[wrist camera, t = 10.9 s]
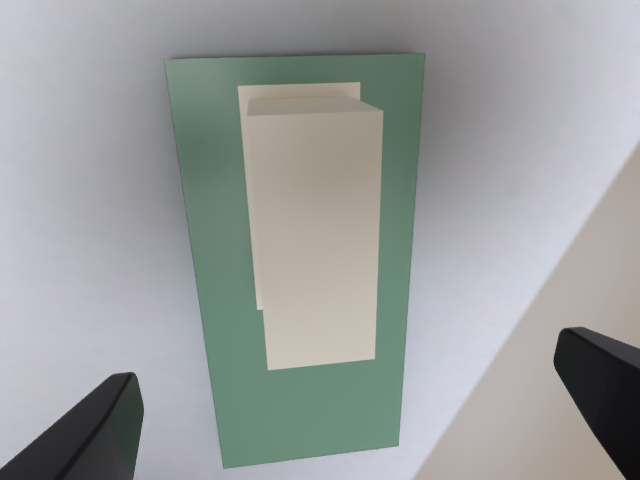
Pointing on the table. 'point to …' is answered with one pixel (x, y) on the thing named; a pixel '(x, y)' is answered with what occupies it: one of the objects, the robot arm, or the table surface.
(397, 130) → the board
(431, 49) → the table surface
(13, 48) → the table surface
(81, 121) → the table surface
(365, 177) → the block
